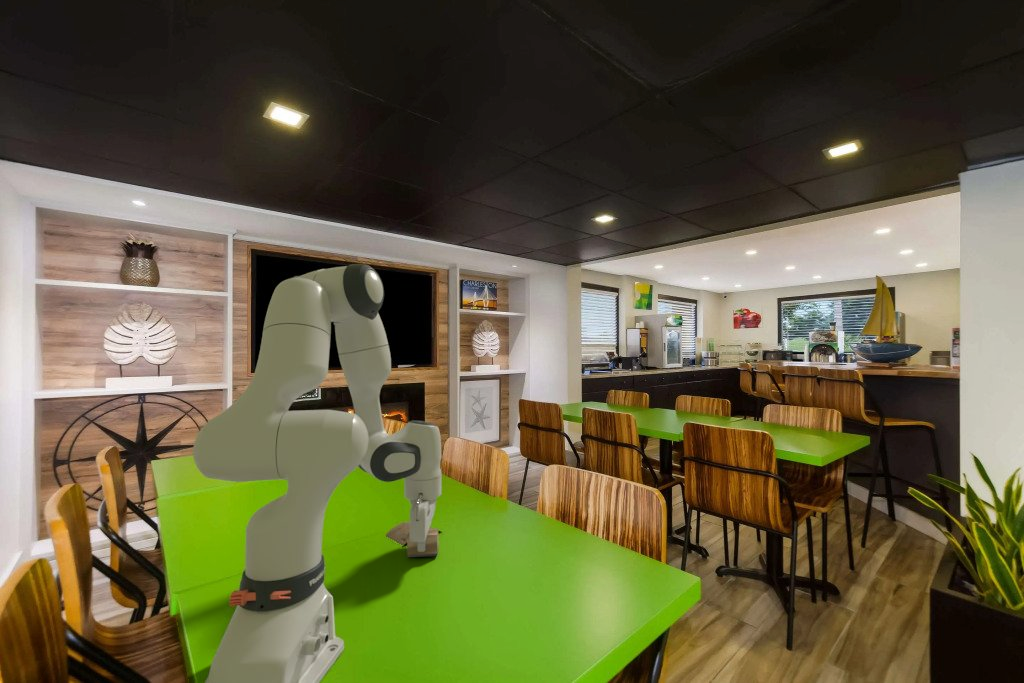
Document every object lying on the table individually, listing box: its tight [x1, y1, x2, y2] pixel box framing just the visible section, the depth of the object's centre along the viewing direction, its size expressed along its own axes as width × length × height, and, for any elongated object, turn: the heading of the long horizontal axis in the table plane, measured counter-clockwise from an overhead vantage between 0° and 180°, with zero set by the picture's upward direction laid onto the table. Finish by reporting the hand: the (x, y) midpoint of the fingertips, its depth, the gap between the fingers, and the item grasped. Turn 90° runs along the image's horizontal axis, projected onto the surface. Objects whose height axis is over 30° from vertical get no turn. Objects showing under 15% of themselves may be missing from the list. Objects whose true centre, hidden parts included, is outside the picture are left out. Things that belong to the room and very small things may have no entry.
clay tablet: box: [385, 520, 435, 547], centre depth 119 cm, size 14×10×3 cm
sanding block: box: [406, 528, 440, 558], centre depth 106 cm, size 4×7×5 cm, turn 94°
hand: (423, 546), depth 106 cm, fingers closed on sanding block, 3 cm apart
